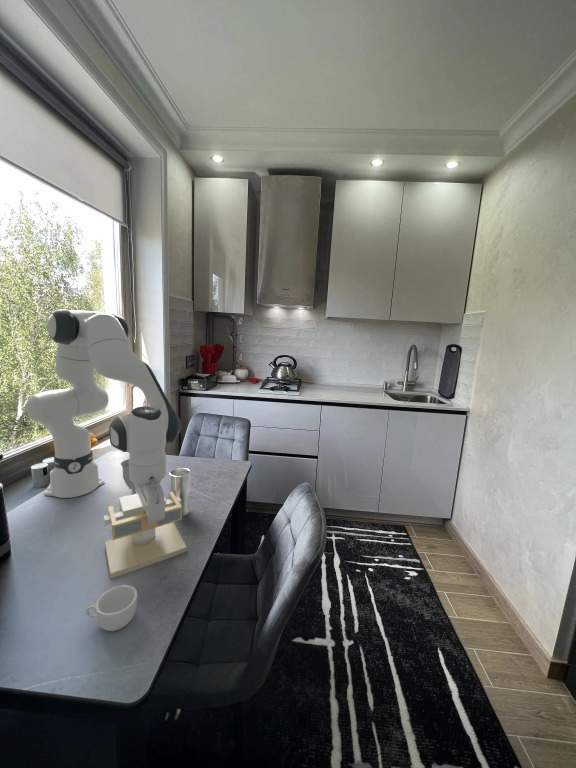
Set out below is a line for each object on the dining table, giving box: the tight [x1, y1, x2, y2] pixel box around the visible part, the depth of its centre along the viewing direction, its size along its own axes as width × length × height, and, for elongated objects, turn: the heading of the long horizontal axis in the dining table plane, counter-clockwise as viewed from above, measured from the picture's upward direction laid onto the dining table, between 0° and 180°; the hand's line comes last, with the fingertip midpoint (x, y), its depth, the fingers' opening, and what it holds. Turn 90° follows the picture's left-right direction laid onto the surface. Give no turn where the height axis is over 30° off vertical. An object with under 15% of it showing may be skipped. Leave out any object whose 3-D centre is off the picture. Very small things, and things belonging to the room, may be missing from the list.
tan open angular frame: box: [107, 491, 183, 540], centre depth 86 cm, size 10×17×4 cm, turn 125°
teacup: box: [85, 584, 138, 632], centre depth 67 cm, size 10×8×5 cm
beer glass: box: [168, 467, 192, 518], centre depth 106 cm, size 7×7×15 cm
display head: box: [103, 494, 188, 579], centre depth 88 cm, size 14×20×14 cm
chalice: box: [120, 458, 137, 495], centre depth 105 cm, size 7×7×18 cm
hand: (149, 518), depth 83 cm, fingers open, 3 cm apart
